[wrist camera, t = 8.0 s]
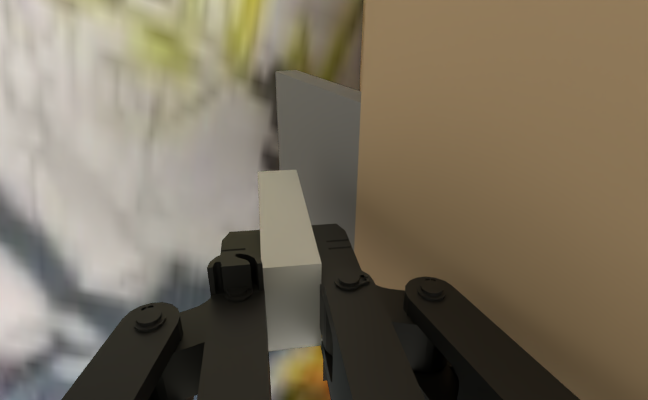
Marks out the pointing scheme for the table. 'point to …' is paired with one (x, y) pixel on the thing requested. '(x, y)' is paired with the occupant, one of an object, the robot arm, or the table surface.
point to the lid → (496, 169)
